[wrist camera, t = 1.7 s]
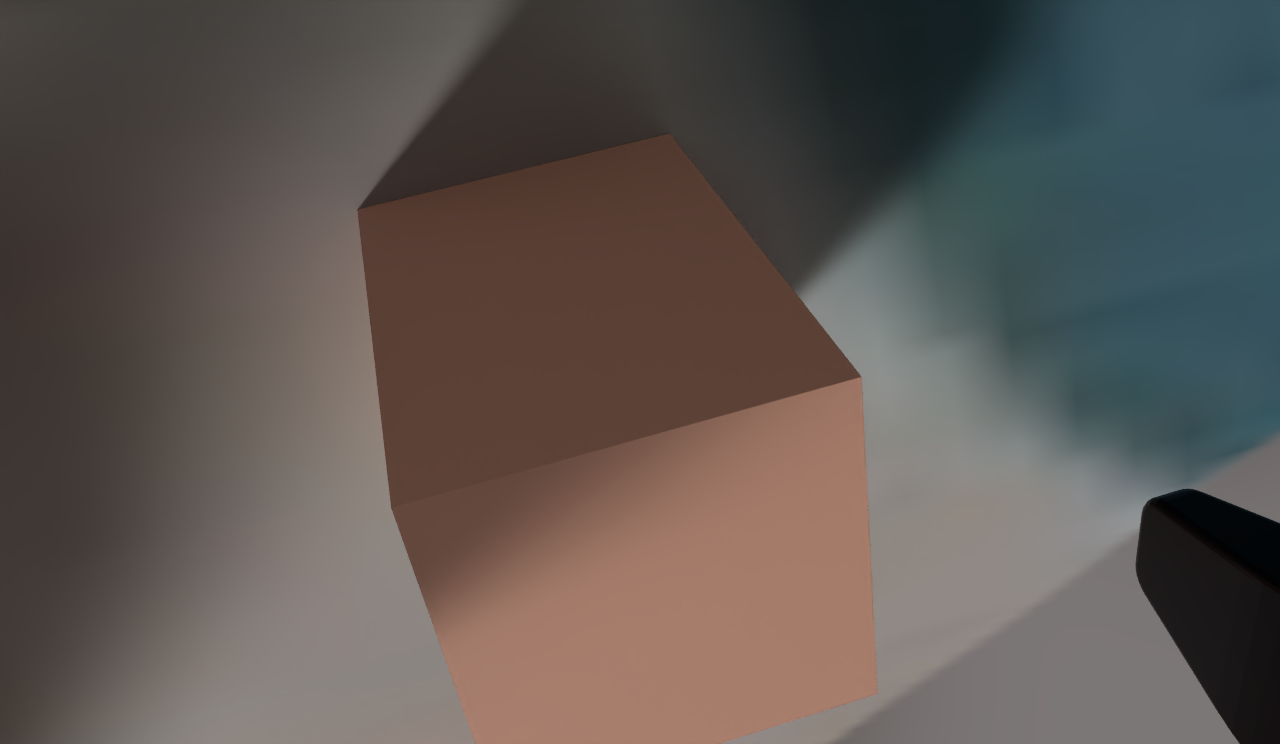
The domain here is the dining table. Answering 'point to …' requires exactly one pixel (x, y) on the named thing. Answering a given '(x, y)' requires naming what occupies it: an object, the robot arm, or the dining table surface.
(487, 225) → the copper brown block
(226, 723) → the dining table surface
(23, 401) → the dining table surface
